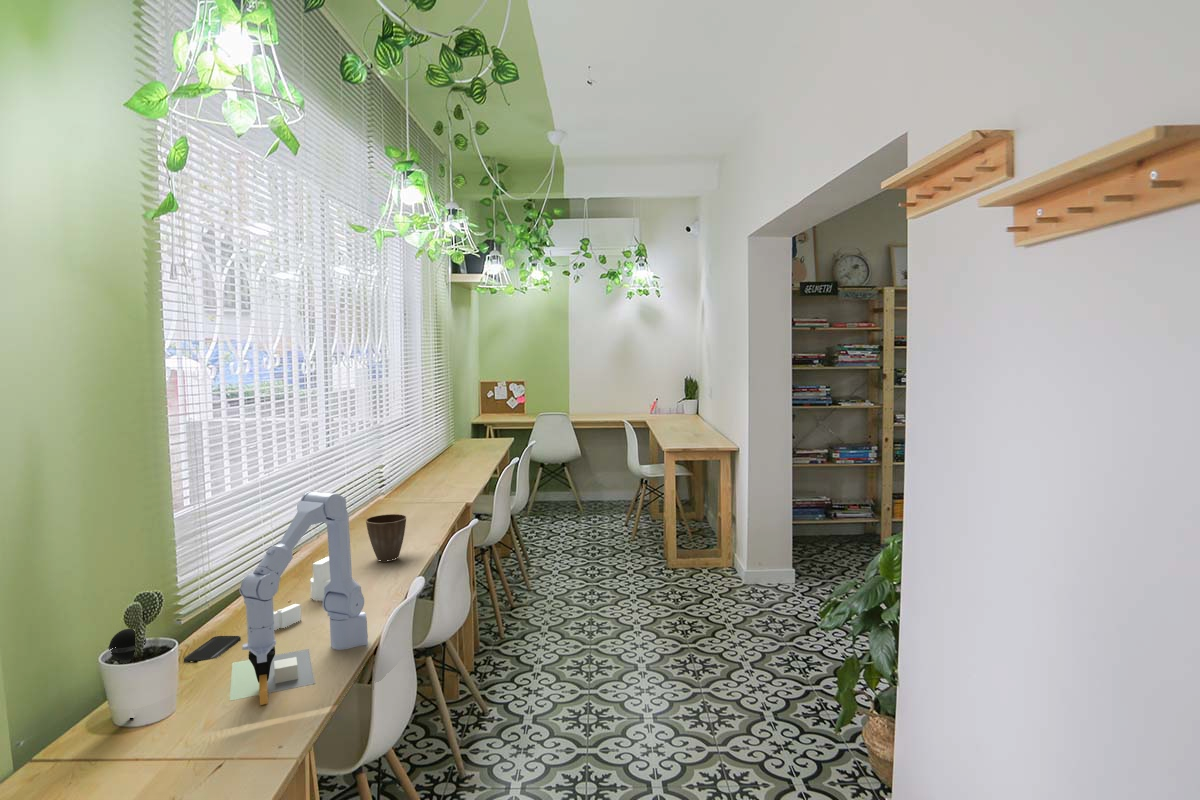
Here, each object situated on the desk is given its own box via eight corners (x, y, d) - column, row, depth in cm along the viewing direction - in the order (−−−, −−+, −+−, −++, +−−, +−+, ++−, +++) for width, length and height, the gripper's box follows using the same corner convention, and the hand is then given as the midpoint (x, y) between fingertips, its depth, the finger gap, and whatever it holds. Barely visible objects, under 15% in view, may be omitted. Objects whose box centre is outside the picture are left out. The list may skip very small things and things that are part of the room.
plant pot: (360, 564, 264) (358, 522, 263) (377, 553, 279) (376, 513, 278) (398, 565, 263) (397, 523, 262) (413, 554, 277) (412, 514, 276)
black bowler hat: (144, 724, 151) (139, 633, 150) (107, 729, 149) (102, 637, 148) (154, 708, 158) (150, 621, 156) (119, 713, 156) (114, 625, 154)
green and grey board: (308, 652, 187) (308, 648, 187) (315, 687, 167) (315, 683, 167) (232, 666, 179) (232, 662, 179) (229, 705, 159) (229, 700, 159)
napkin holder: (304, 617, 213) (304, 598, 213) (309, 630, 203) (308, 610, 203) (249, 627, 206) (248, 607, 206) (251, 640, 196) (250, 620, 196)
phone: (242, 635, 196) (211, 659, 181) (242, 639, 196) (211, 663, 182) (214, 635, 197) (181, 659, 182) (214, 639, 197) (181, 663, 182)
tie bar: (267, 686, 165) (266, 674, 165) (267, 703, 157) (267, 690, 157) (259, 687, 164) (259, 675, 164) (259, 705, 156) (259, 692, 156)
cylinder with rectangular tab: (321, 590, 236) (320, 555, 235) (345, 592, 234) (344, 556, 233) (305, 599, 227) (303, 563, 226) (330, 601, 225) (328, 564, 224)
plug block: (296, 670, 174) (296, 656, 174) (298, 678, 169) (297, 664, 169) (274, 674, 172) (274, 660, 171) (275, 683, 167) (274, 669, 167)
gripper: (242, 617, 169) (244, 671, 170) (240, 638, 156) (243, 697, 157) (274, 612, 172) (276, 665, 173) (275, 632, 159) (278, 690, 160)
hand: (263, 680), depth 166 cm, fingers closed
